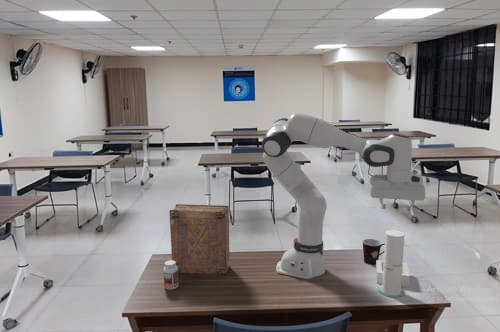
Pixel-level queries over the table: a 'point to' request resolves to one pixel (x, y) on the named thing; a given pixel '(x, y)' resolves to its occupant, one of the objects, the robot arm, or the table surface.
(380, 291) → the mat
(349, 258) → the table surface
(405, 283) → the holder
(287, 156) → the robot arm
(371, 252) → the coffee mug
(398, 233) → the cylindrical container
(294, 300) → the table surface
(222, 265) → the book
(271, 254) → the table surface
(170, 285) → the pill bottle
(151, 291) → the table surface
